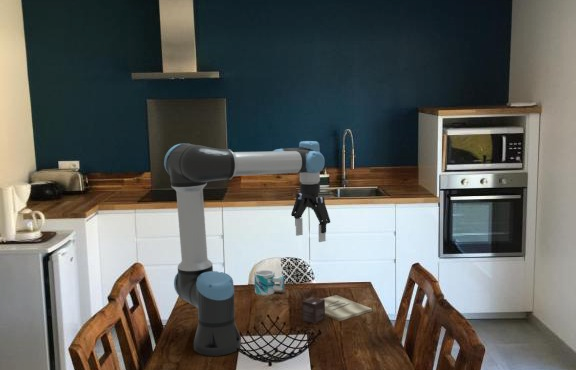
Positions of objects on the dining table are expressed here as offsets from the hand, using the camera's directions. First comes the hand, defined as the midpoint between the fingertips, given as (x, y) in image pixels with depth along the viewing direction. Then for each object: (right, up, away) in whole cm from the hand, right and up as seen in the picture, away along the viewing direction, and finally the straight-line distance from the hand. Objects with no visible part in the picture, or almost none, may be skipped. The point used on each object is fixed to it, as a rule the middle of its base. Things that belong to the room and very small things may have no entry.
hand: (310, 238), depth 227 cm
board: (+10, -26, -1) cm, 28 cm away
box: (+1, -28, -12) cm, 31 cm away
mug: (-16, -24, +19) cm, 35 cm away
